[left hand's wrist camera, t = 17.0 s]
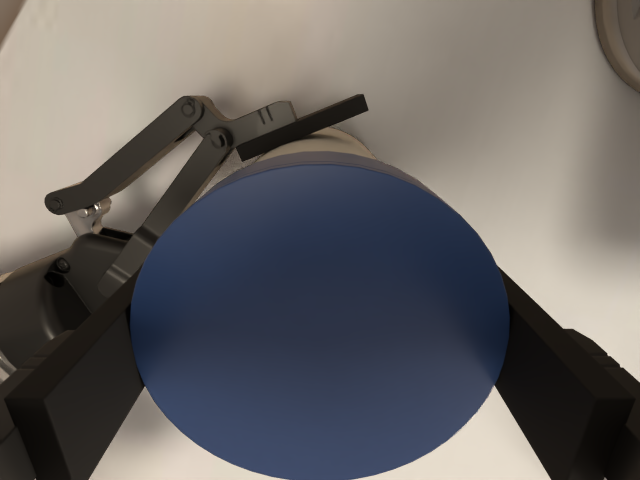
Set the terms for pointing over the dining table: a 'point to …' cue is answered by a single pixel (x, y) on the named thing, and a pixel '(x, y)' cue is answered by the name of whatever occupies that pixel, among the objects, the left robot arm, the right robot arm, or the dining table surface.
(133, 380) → the left robot arm
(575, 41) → the dining table surface
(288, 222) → the lid
